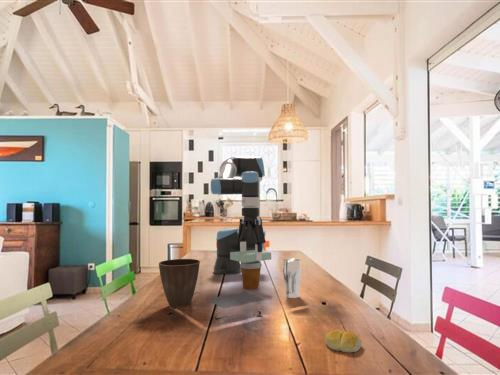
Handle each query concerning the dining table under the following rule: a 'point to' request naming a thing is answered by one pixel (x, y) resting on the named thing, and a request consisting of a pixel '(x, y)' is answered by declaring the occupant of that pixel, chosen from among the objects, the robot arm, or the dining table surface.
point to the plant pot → (179, 280)
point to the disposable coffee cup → (251, 274)
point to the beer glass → (292, 277)
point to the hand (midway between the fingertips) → (250, 258)
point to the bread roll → (343, 341)
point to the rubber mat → (234, 299)
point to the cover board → (249, 256)
